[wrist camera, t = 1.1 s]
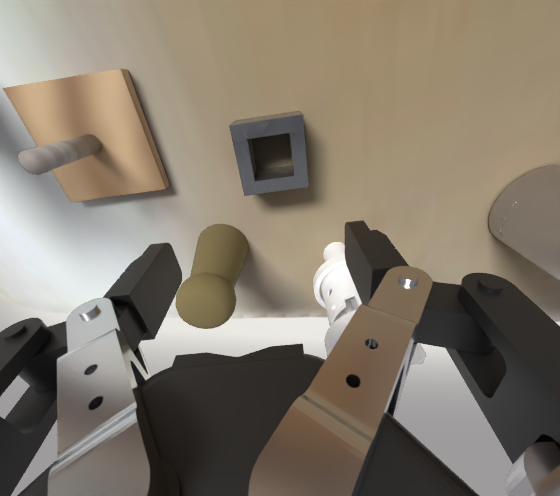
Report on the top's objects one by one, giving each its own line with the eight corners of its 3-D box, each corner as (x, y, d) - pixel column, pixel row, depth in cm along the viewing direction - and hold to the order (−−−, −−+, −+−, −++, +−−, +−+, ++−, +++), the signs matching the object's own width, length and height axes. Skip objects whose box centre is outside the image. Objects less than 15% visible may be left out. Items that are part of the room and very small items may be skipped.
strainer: (361, 273, 34) (415, 387, 21) (307, 277, 34) (328, 392, 21) (367, 225, 30) (438, 327, 17) (306, 229, 30) (331, 333, 17)
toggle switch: (127, 69, 22) (58, 61, 15) (169, 185, 27) (133, 219, 20) (15, 88, 22) (-103, 88, 15) (78, 198, 27) (12, 235, 21)
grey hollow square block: (299, 110, 24) (303, 114, 21) (304, 175, 27) (308, 187, 24) (234, 120, 24) (229, 125, 21) (247, 183, 27) (244, 195, 24)
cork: (254, 262, 32) (247, 333, 23) (208, 271, 33) (182, 344, 24) (240, 219, 29) (225, 281, 20) (189, 229, 30) (151, 295, 20)
